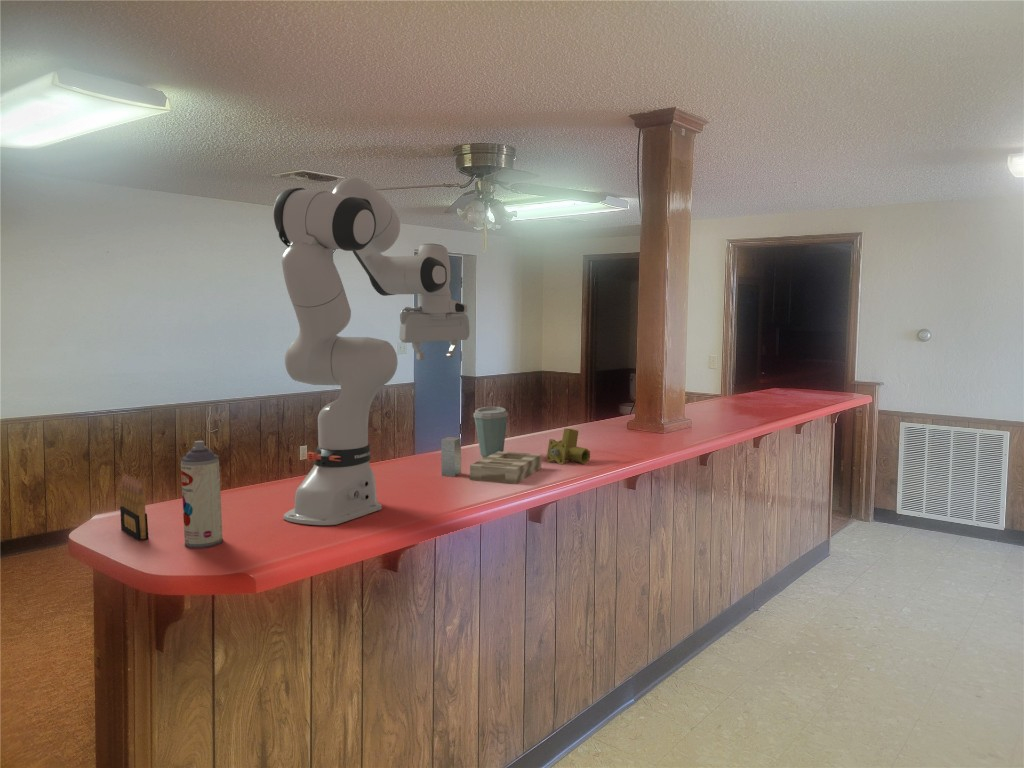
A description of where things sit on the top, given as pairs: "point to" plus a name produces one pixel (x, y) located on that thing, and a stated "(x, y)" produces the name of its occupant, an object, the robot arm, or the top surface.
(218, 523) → the aerosol can
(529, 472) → the tan flat slatted block
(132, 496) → the ammunition clip
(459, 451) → the square bit
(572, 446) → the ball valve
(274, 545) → the top surface
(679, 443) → the top surface
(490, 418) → the disposable coffee cup
